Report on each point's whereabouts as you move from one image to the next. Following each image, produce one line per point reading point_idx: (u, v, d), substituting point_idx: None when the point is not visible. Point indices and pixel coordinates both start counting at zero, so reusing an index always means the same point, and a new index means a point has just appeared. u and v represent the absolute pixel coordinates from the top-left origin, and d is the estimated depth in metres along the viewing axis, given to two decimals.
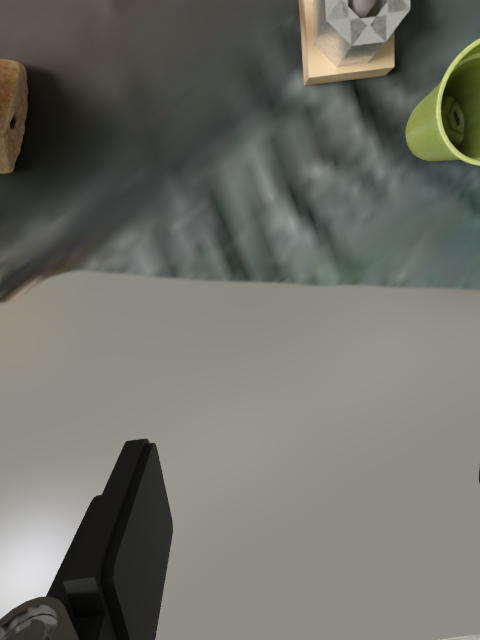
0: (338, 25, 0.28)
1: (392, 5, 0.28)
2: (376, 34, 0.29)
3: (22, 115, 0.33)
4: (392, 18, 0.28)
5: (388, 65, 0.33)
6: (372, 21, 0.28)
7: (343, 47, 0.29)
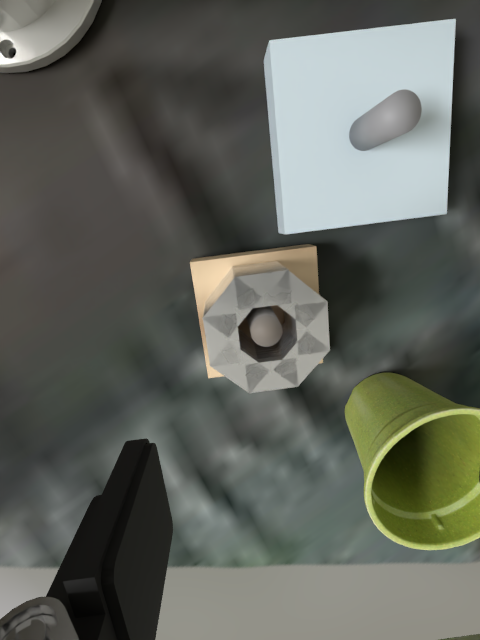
0: (228, 371, 0.20)
1: (303, 346, 0.20)
2: (283, 379, 0.20)
3: None
4: (305, 361, 0.20)
5: None
6: (277, 365, 0.20)
7: None
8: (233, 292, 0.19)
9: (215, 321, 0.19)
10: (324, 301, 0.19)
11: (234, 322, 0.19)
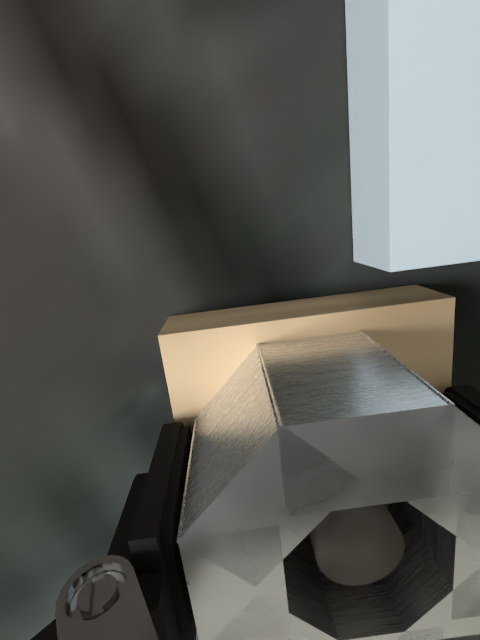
0: None
1: (469, 599, 0.07)
2: None
3: None
4: (468, 632, 0.07)
5: None
6: None
7: None
8: (273, 470, 0.06)
9: (216, 547, 0.06)
10: None
11: (274, 548, 0.06)
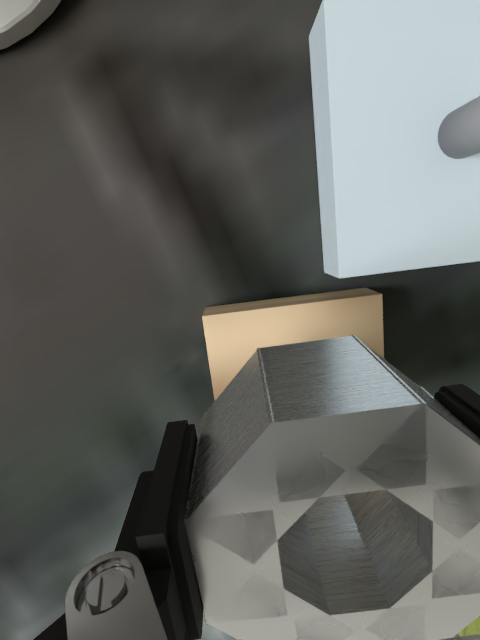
0: (253, 632, 0.08)
1: (447, 580, 0.08)
2: None
3: None
4: (448, 611, 0.08)
5: None
6: (375, 620, 0.08)
7: None
8: (267, 461, 0.07)
9: (218, 529, 0.07)
10: None
11: (269, 530, 0.07)
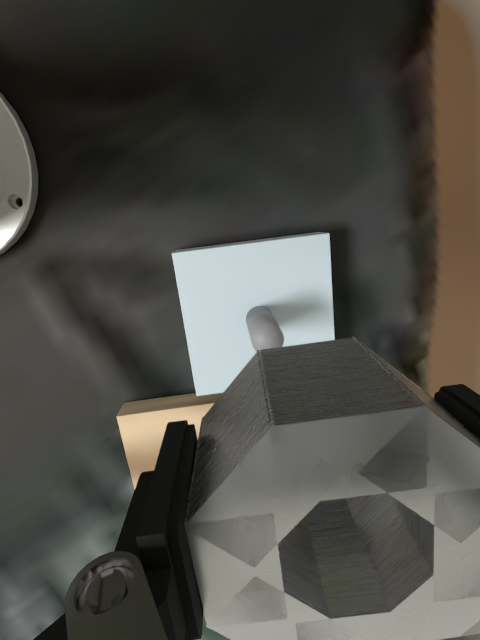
0: (254, 636, 0.08)
1: (449, 584, 0.08)
2: None
3: None
4: (449, 614, 0.08)
5: None
6: (376, 623, 0.08)
7: None
8: (267, 464, 0.07)
9: (218, 532, 0.07)
10: None
11: (269, 534, 0.07)
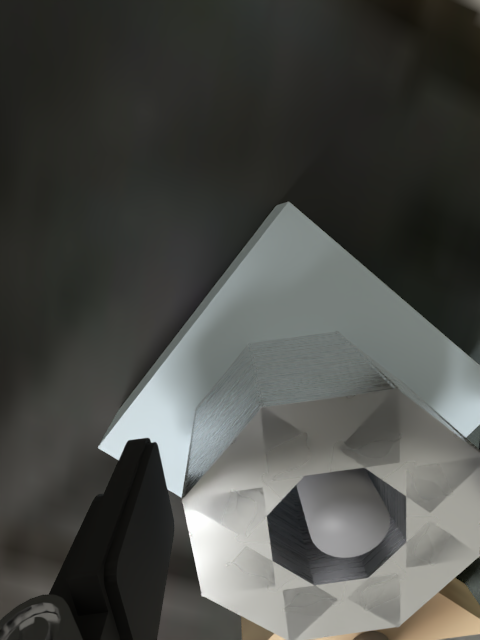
0: (245, 603, 0.09)
1: (420, 550, 0.08)
2: (369, 614, 0.09)
3: None
4: (420, 579, 0.09)
5: None
6: (355, 589, 0.09)
7: None
8: (257, 442, 0.07)
9: (213, 506, 0.08)
10: (478, 456, 0.08)
11: (259, 506, 0.08)
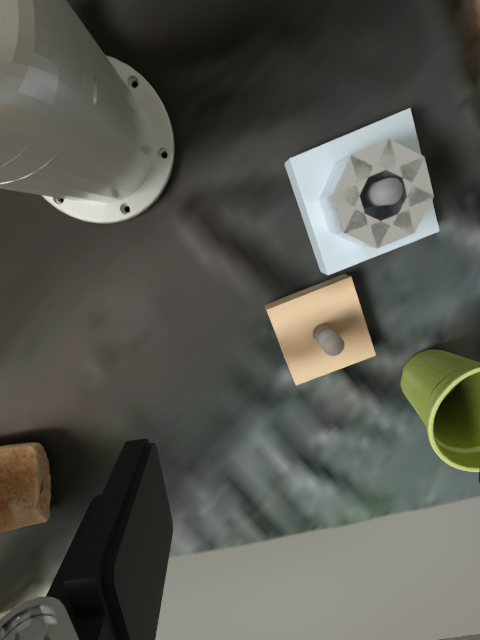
0: (341, 207, 0.25)
1: (400, 219, 0.26)
2: (372, 236, 0.26)
3: (46, 473, 0.36)
4: (394, 231, 0.26)
5: (369, 355, 0.33)
6: (374, 223, 0.26)
7: (338, 226, 0.27)
8: (381, 149, 0.24)
9: (357, 163, 0.25)
10: (432, 195, 0.25)
11: (368, 172, 0.25)
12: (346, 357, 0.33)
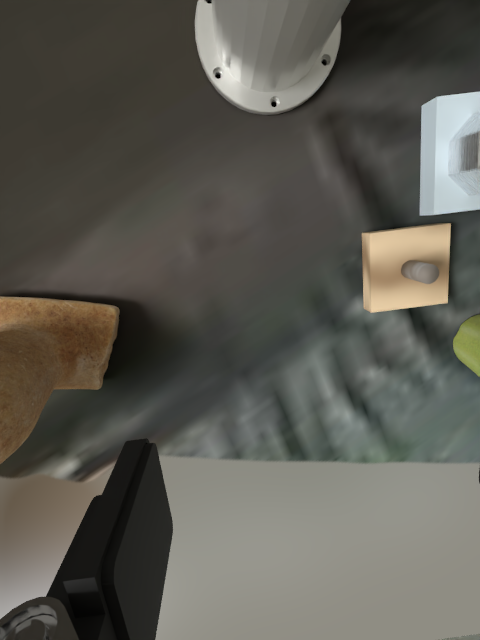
0: None
1: None
2: None
3: (112, 342, 0.37)
4: None
5: (442, 301, 0.36)
6: None
7: (469, 164, 0.30)
8: None
9: None
10: None
11: None
12: (422, 298, 0.36)
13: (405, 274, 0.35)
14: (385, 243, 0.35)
